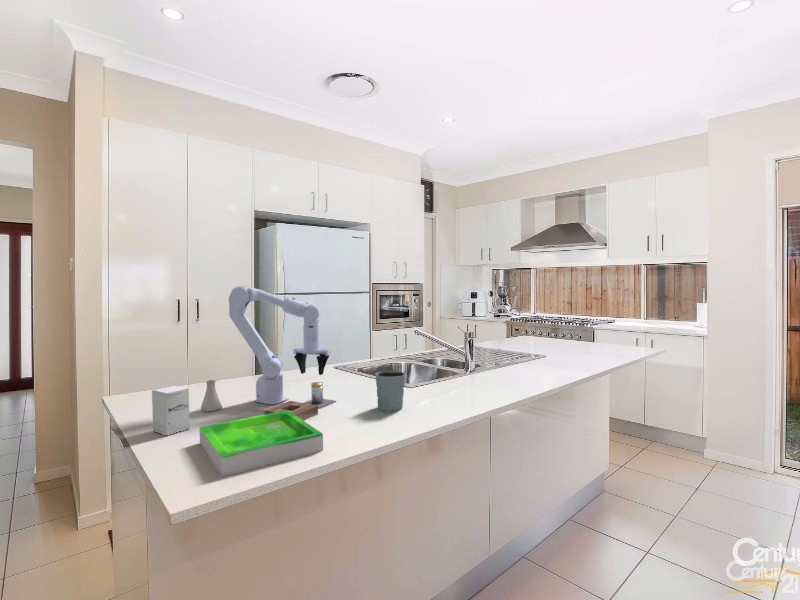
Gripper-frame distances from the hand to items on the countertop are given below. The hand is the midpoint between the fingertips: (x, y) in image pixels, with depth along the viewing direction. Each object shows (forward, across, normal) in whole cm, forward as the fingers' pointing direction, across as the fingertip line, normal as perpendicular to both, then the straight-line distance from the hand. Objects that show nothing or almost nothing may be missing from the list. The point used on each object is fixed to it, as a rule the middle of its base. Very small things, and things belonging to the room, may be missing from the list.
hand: (312, 373), depth 162 cm
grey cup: (+10, +32, -2) cm, 34 cm away
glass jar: (+9, +5, -5) cm, 12 cm away
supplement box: (+10, -22, -43) cm, 49 cm away
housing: (+9, +5, -21) cm, 23 cm away
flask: (+10, -27, -22) cm, 36 cm away
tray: (+10, +11, -45) cm, 48 cm away
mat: (+9, +5, -5) cm, 12 cm away
